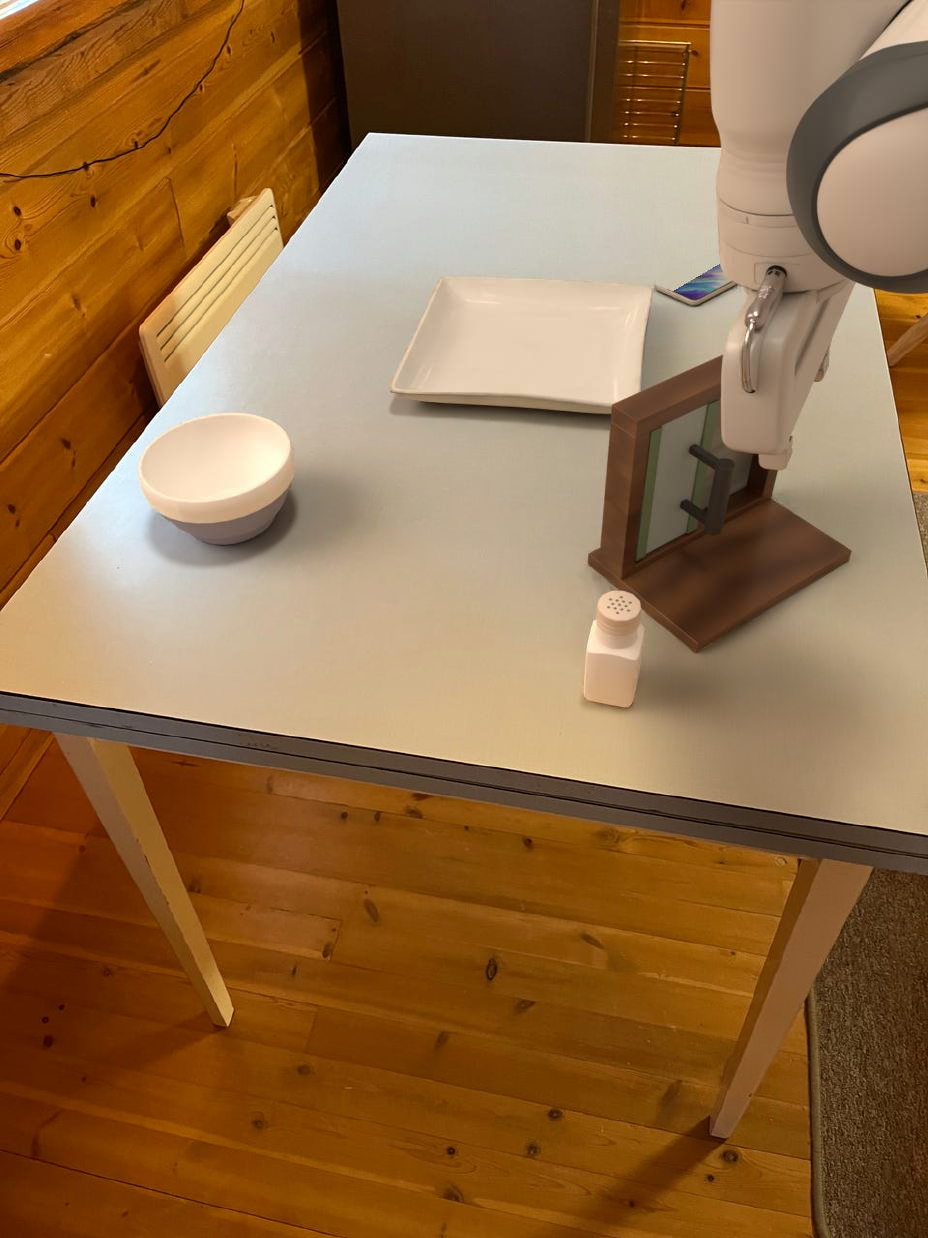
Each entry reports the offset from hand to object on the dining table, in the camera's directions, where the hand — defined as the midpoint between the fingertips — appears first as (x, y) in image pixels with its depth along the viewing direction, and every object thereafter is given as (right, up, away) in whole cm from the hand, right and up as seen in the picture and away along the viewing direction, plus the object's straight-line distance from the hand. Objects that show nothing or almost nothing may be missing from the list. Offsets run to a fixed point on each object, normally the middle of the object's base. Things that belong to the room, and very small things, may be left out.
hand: (795, 417), depth 63 cm
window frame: (0, -9, +21) cm, 23 cm away
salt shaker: (-11, -20, +11) cm, 25 cm away
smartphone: (+10, +31, +59) cm, 68 cm away
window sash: (-4, -8, +19) cm, 21 cm away
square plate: (-15, +17, +47) cm, 53 cm away
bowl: (-46, -4, +29) cm, 54 cm away
